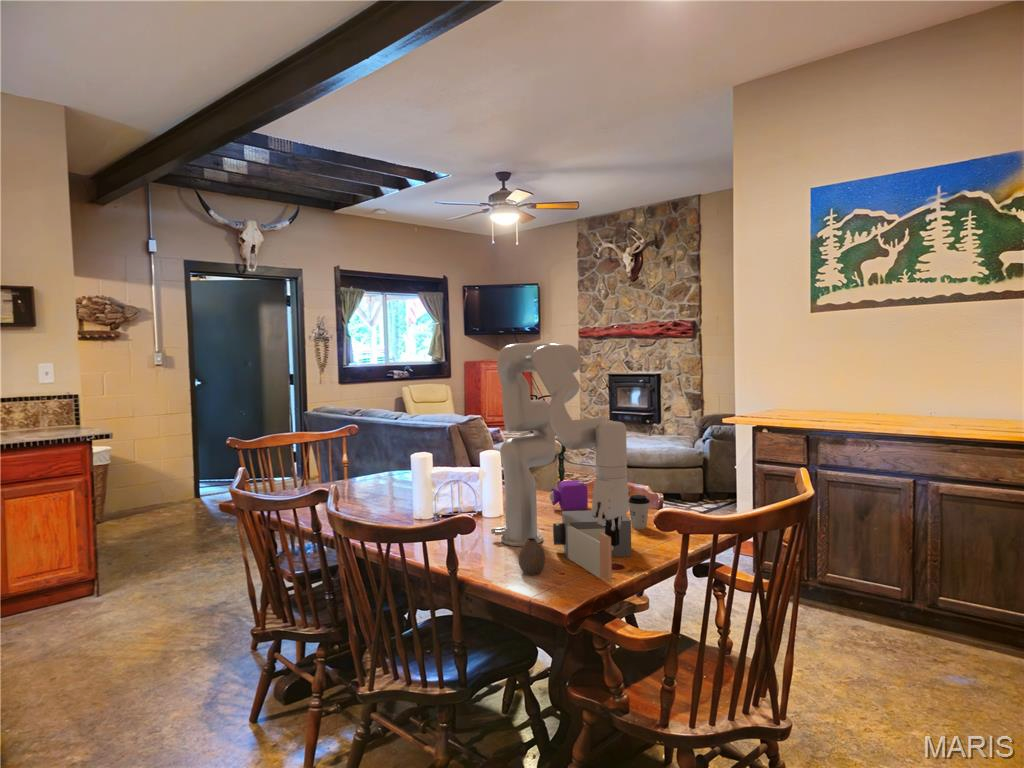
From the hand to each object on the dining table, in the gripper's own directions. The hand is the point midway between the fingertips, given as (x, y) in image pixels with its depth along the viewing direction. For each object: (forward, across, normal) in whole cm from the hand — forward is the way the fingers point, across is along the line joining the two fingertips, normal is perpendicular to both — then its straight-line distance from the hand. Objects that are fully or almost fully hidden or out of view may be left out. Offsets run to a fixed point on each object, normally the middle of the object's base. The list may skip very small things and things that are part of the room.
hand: (612, 544), depth 151 cm
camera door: (+9, -1, -8) cm, 12 cm away
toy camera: (+10, -47, -51) cm, 70 cm away
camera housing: (+9, -14, -17) cm, 24 cm away
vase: (+9, +9, -19) cm, 23 cm away
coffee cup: (+9, -42, -19) cm, 47 cm away
